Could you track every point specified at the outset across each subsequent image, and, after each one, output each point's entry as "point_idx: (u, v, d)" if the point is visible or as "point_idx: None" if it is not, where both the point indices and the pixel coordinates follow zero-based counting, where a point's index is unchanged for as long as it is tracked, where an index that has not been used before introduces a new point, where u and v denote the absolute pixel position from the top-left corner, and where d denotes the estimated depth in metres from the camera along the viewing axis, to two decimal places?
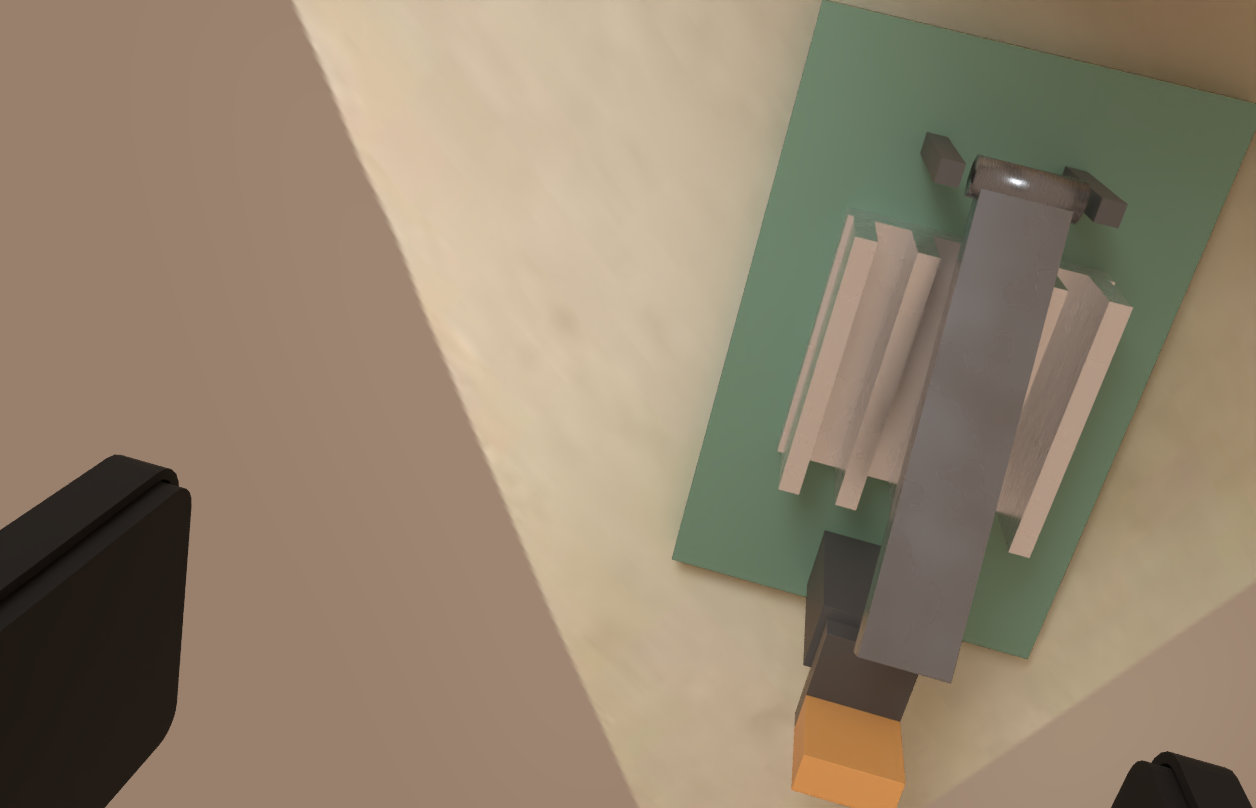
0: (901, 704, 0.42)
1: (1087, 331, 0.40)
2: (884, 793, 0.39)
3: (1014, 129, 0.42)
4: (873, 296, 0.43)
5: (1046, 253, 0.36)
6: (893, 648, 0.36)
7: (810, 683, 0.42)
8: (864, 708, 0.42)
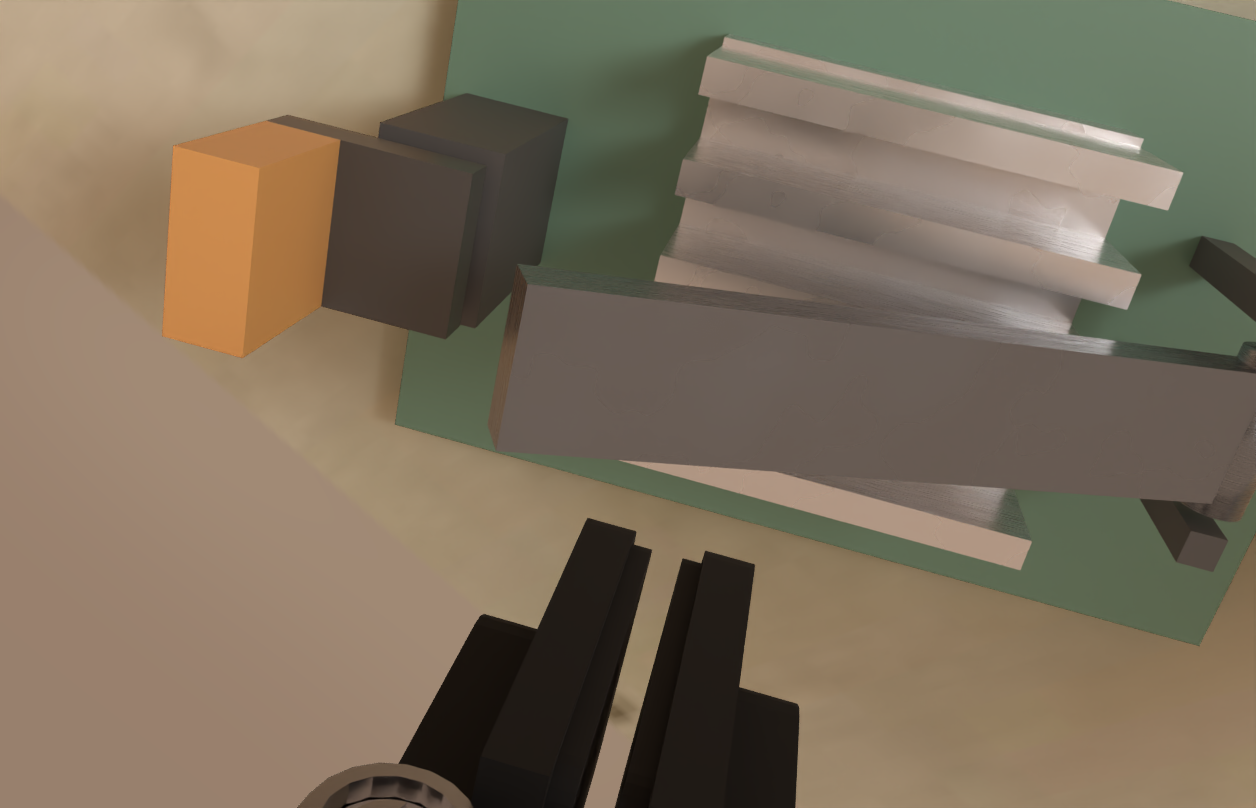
0: (355, 307, 0.24)
1: (966, 506, 0.27)
2: (213, 322, 0.21)
3: None
4: (999, 185, 0.27)
5: (1164, 479, 0.23)
6: (550, 345, 0.19)
7: (365, 147, 0.23)
8: (334, 245, 0.24)
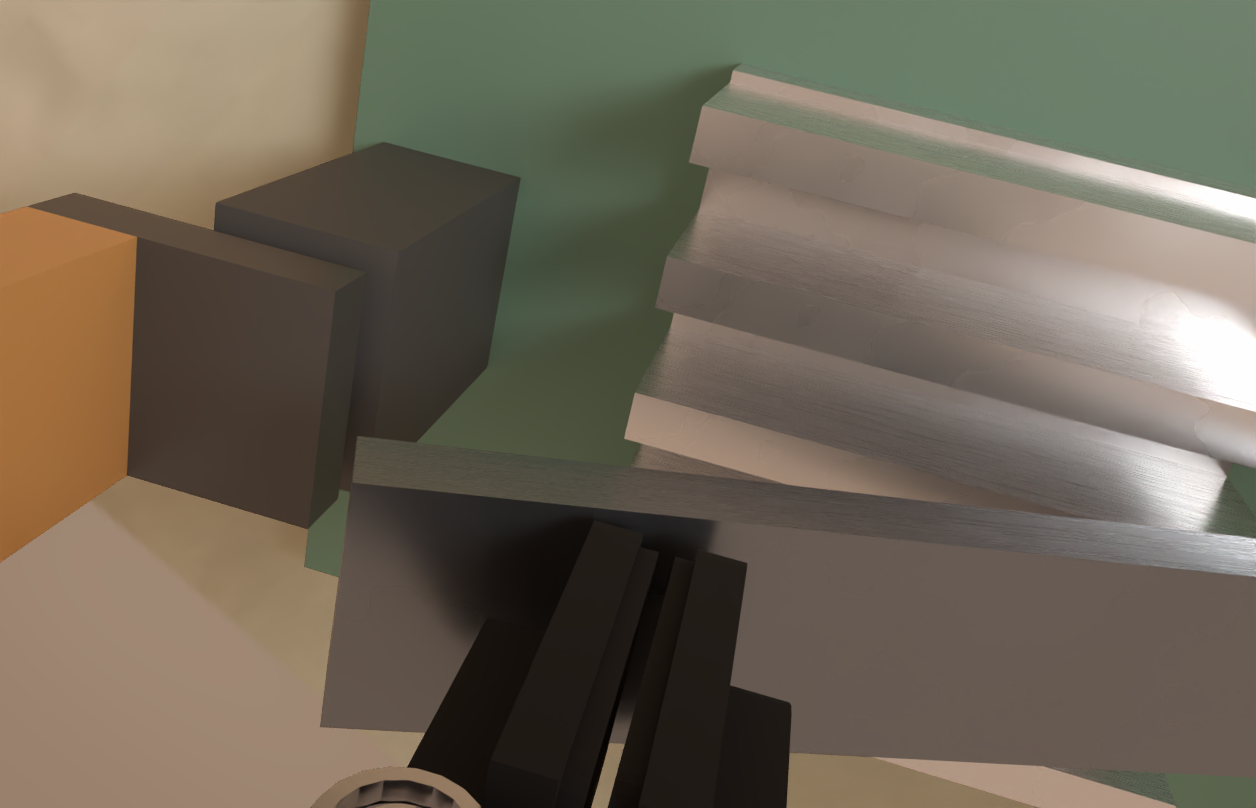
0: (175, 478, 0.16)
1: None
2: None
3: None
4: (1128, 283, 0.19)
5: None
6: (398, 574, 0.11)
7: (174, 247, 0.15)
8: (139, 391, 0.16)
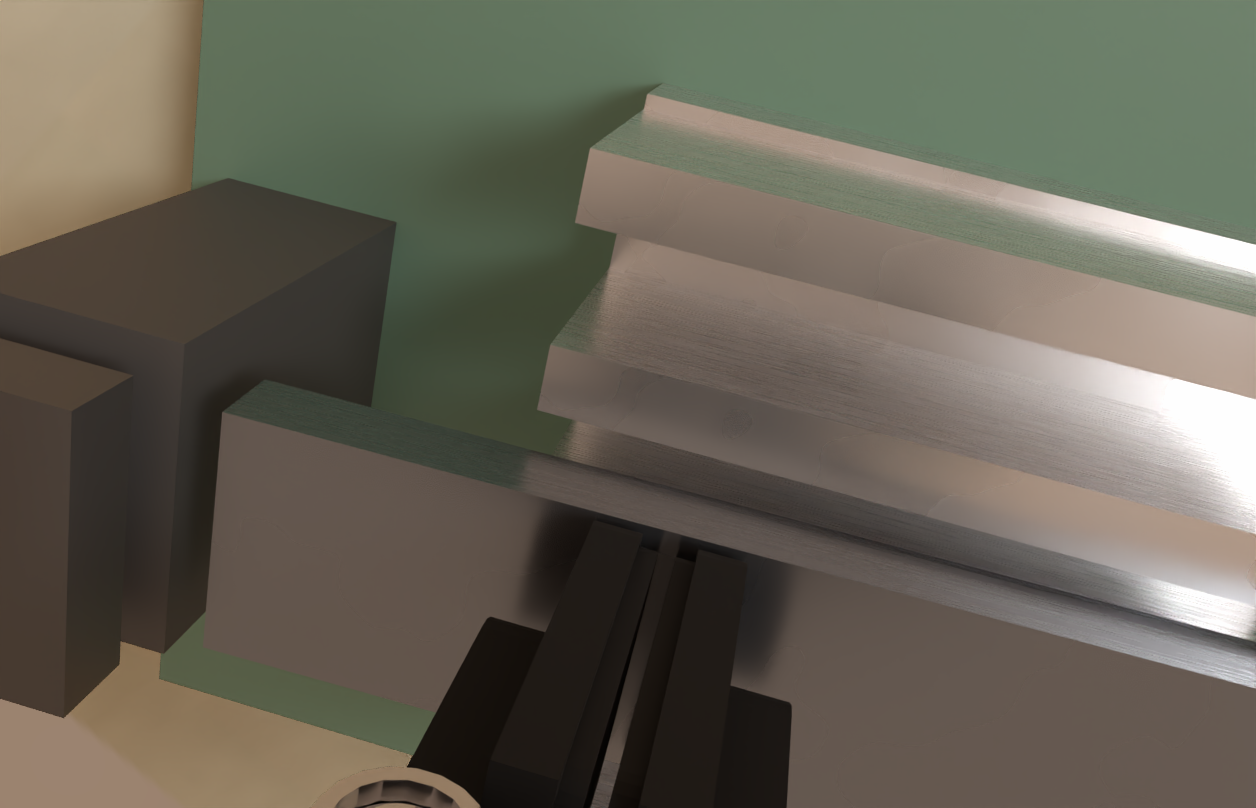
0: None
1: None
2: None
3: None
4: None
5: None
6: (265, 509, 0.12)
7: None
8: None
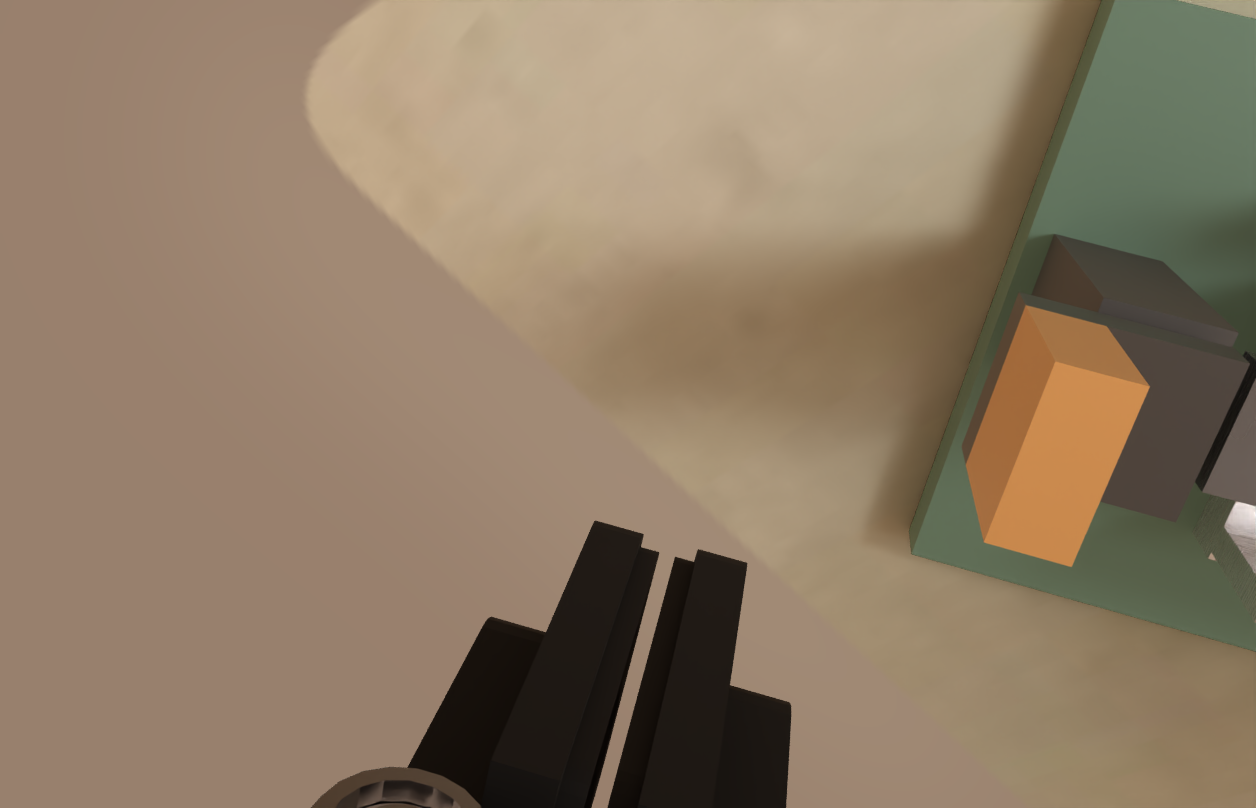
0: None
1: None
2: (1047, 531, 0.20)
3: None
4: None
5: None
6: None
7: (1132, 333, 0.22)
8: None
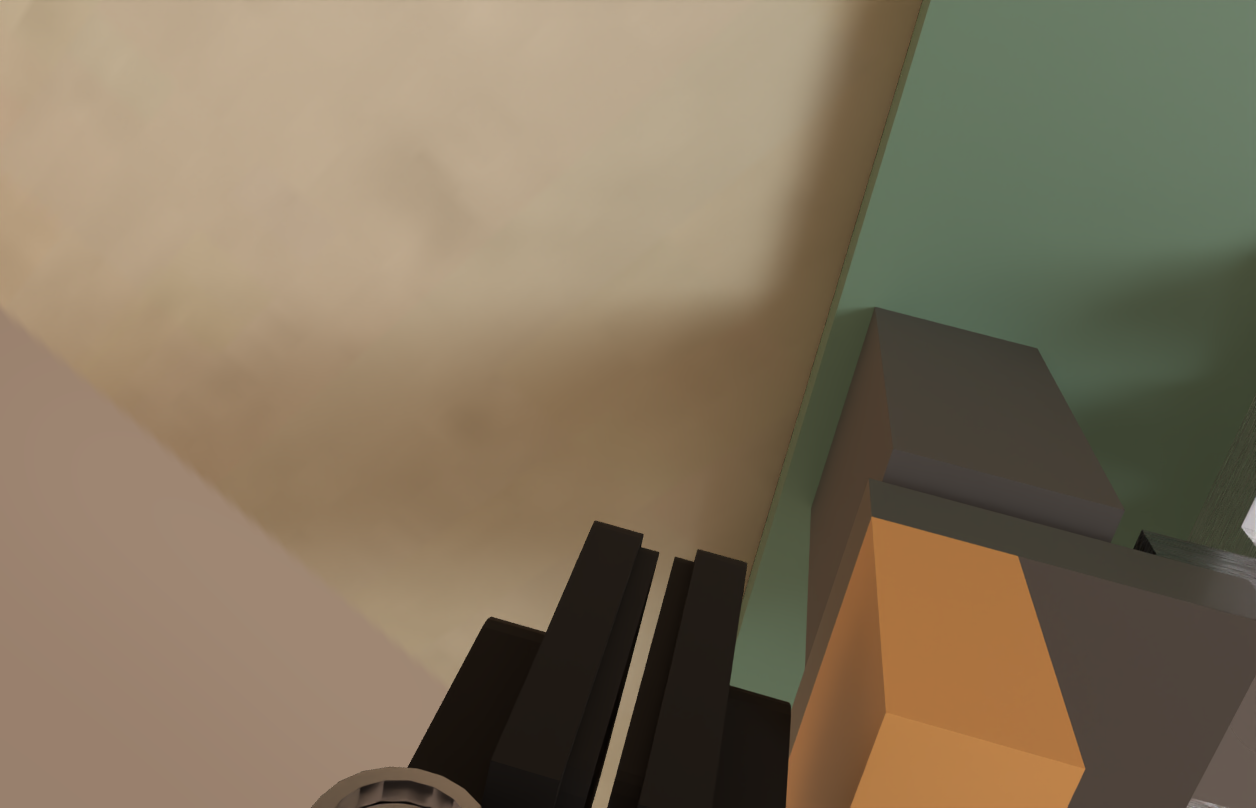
0: None
1: None
2: None
3: None
4: None
5: None
6: None
7: (1064, 569, 0.12)
8: None
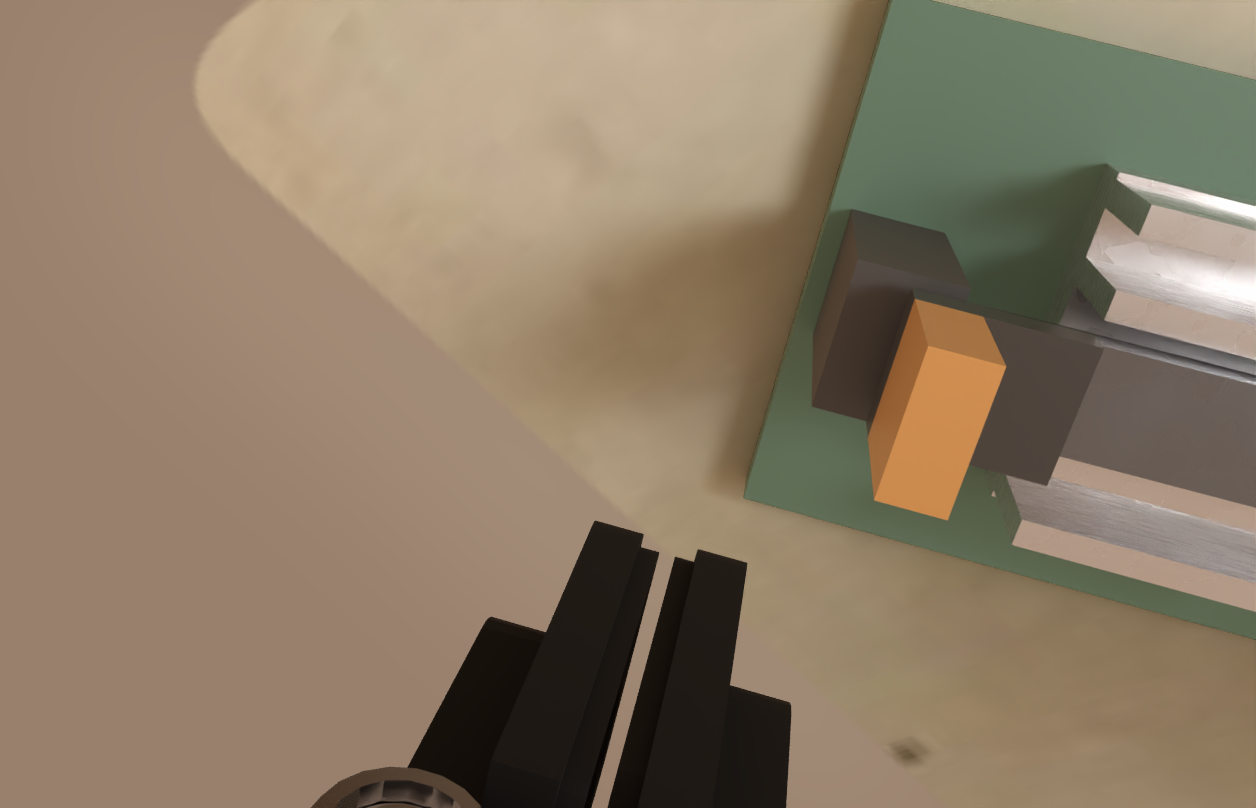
0: None
1: None
2: (927, 490, 0.24)
3: None
4: None
5: None
6: None
7: (1005, 323, 0.26)
8: None
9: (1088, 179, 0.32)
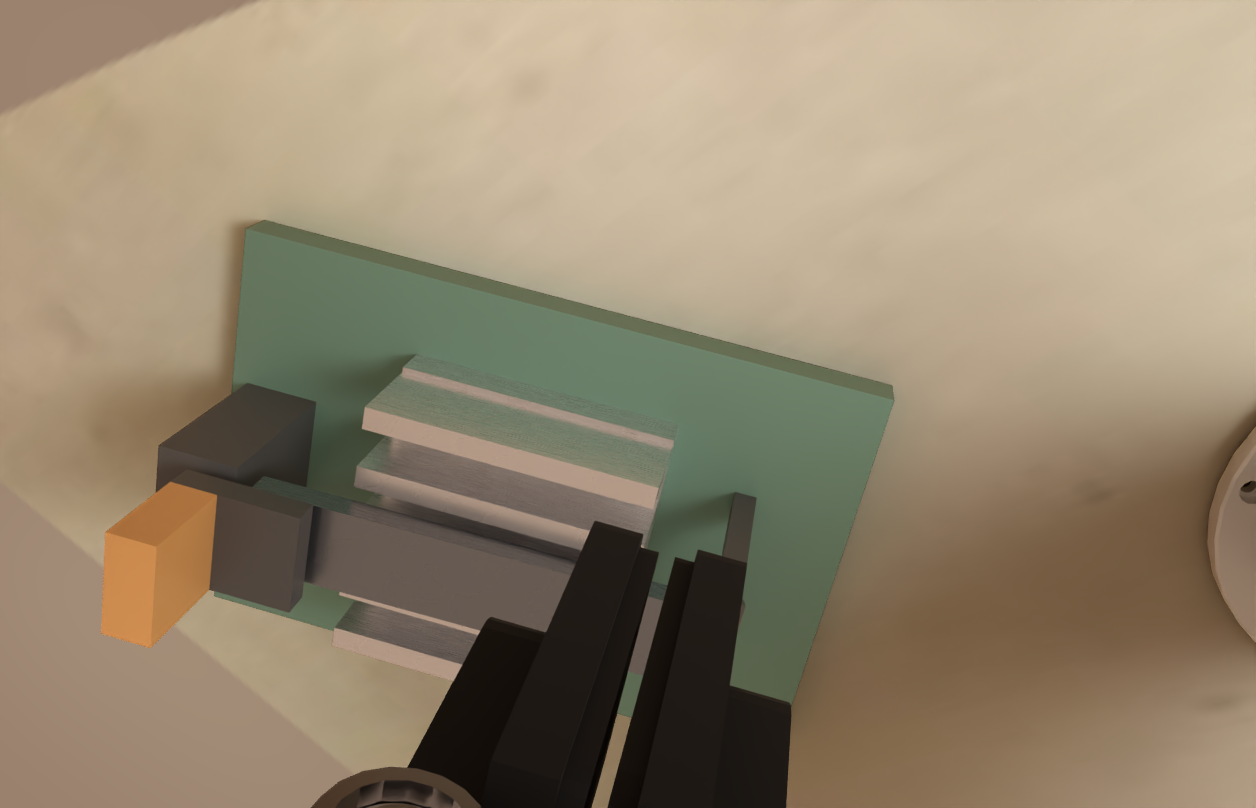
0: (230, 590, 0.37)
1: None
2: (131, 627, 0.34)
3: (757, 572, 0.43)
4: None
5: (643, 663, 0.38)
6: None
7: (232, 499, 0.36)
8: (216, 555, 0.37)
9: None
